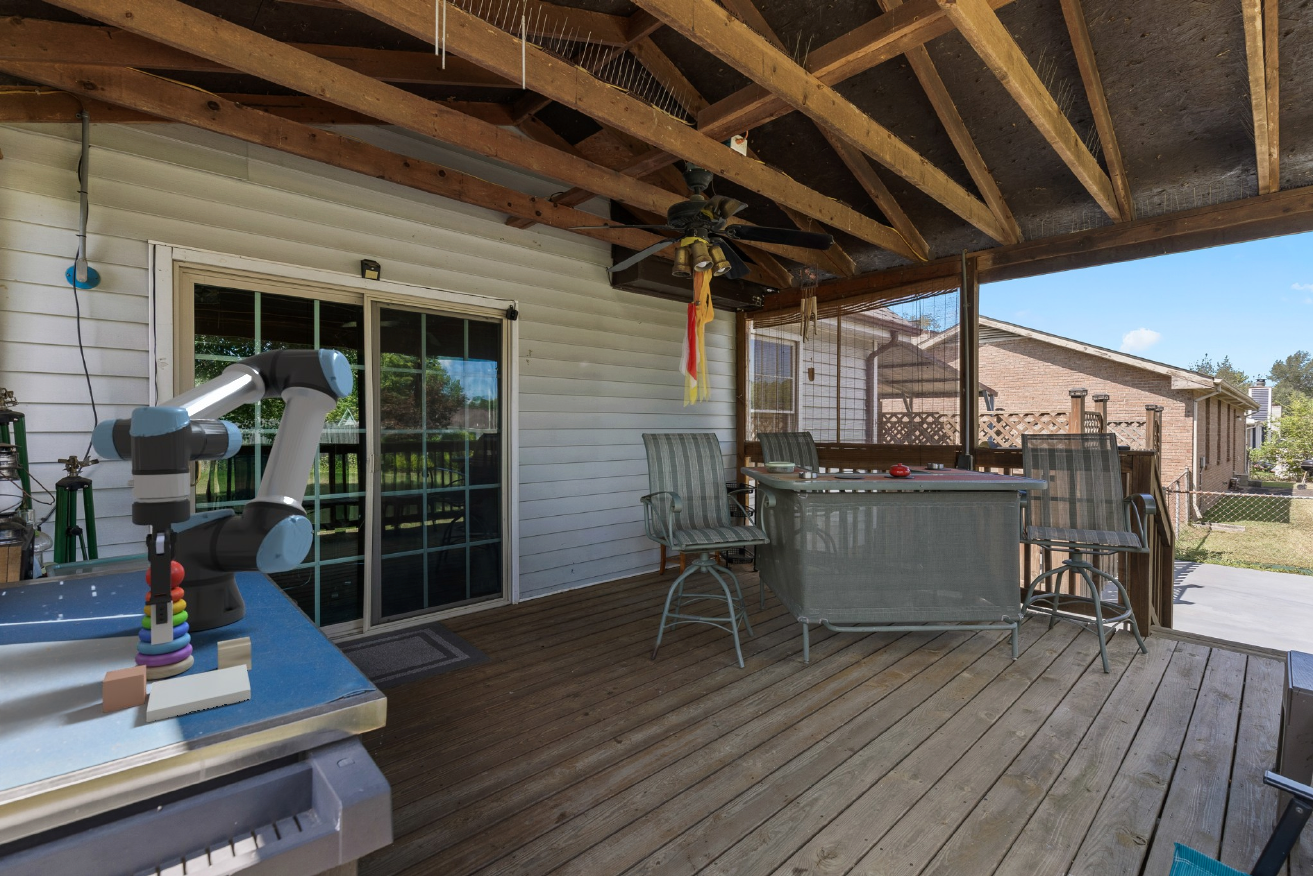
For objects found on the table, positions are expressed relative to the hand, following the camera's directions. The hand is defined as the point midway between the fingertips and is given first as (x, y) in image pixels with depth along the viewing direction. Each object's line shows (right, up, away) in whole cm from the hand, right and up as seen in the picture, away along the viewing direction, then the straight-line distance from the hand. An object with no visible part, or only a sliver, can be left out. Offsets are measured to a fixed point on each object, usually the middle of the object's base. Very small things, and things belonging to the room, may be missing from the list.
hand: (163, 636), depth 101 cm
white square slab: (+13, -6, -9) cm, 17 cm away
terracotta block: (+3, -6, -11) cm, 13 cm away
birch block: (+11, -6, +2) cm, 13 cm away
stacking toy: (0, -6, 0) cm, 6 cm away
